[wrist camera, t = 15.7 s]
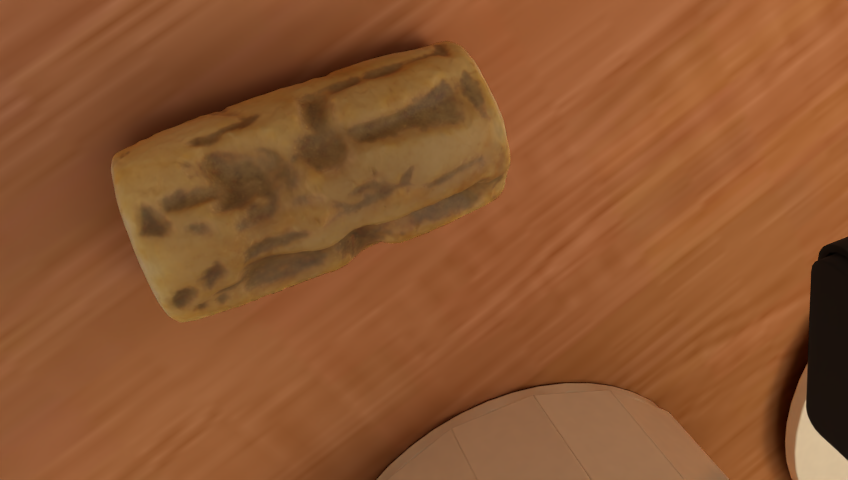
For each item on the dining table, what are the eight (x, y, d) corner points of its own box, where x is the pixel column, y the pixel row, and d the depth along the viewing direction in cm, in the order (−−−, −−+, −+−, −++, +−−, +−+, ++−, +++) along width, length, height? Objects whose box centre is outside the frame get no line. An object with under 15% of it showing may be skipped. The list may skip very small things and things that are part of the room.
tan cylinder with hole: (440, 19, 20) (503, 59, 16) (472, 171, 22) (534, 236, 18) (101, 124, 18) (90, 193, 15) (170, 276, 20) (175, 366, 17)
